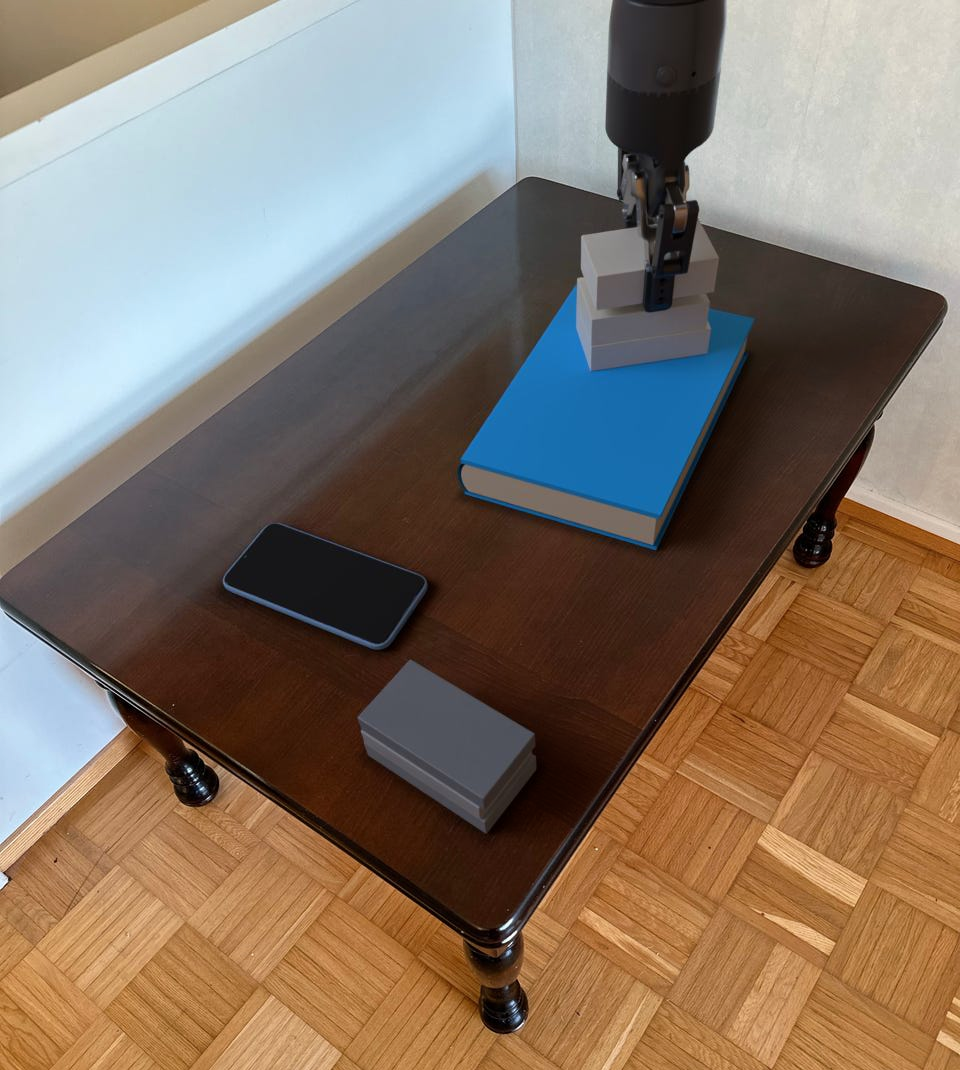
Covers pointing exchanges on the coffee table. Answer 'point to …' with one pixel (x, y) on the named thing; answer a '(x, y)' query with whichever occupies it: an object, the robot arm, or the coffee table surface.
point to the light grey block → (639, 267)
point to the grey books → (448, 744)
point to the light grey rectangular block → (641, 331)
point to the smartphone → (326, 585)
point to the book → (603, 431)
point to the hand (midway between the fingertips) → (646, 284)
